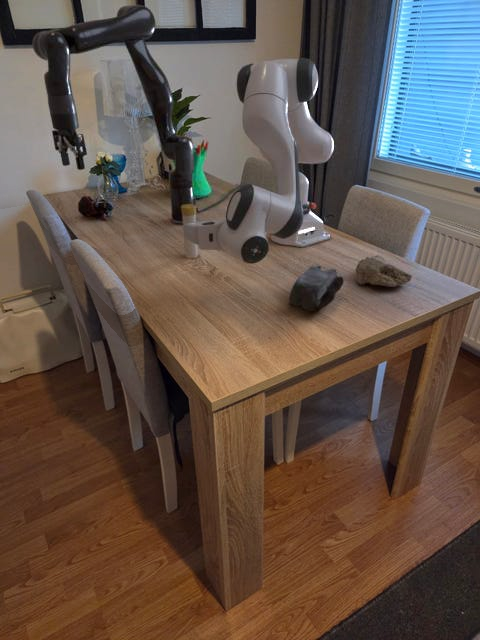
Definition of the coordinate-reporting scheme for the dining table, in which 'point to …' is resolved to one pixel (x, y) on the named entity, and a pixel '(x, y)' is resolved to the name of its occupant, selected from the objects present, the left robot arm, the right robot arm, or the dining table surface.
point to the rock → (315, 288)
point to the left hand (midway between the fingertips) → (73, 167)
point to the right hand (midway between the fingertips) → (212, 222)
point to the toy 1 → (95, 207)
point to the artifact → (380, 273)
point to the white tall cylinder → (189, 246)
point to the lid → (188, 209)
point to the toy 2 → (199, 172)
